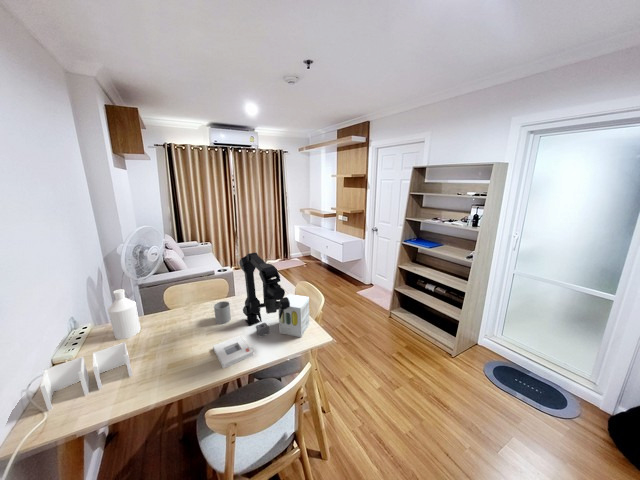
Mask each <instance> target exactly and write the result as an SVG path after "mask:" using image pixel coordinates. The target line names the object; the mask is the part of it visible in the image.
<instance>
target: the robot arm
mask: <svg viewBox="0 0 640 480" xmlns="http://www.w3.org/2000/svg"><path fill="white" fill-rule="evenodd" d="M238 263H239V264H238V265H239V266H240V269H241V270H242V272H243V273H244V280H245V289H246V299H245V301H244V307H243V308H242V311H243V312H242V313H243V314H244V316H246V319H245V322H246V324H247V325H248V327H249V326H253V325H255V324H258V323H261V322H262V316H261V315H262V314H261V309H262V308H265V311H266V313H267V314H268V315H270V314H273V313H275V314H276V313H277V312H278V320H279V319H280V318H281V316H282V313H283V311H284V310H285V309H287V308H288V307H290V302H289V299H288V298H287V297H286V291H285V289H284V288H282V286H281V284H279V283H280V282H281V275H280V274H279V272H278V269H277V267H275V266H274V265H273V264H271V263H266V261H264V260H263V259H262V258H261V256H259V255H258V253H257V252H251V253H247V254H246V255H244V256H243V257H241V258H240V259H239V262H238ZM256 269H257V270H258V272H259V278H260V280H261V281H262V295H263V303H261V301H260V300H259V299H258V297H257V294H256V293H257V292H256V287H255V276H254V274H255V273H254V272H255V270H256ZM278 309H279V311H278Z"/></svg>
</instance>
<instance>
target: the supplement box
mask: <svg viewBox="0 0 640 480" xmlns="http://www.w3.org/2000/svg"><path fill="white" fill-rule="evenodd" d="M285 297H287V298H288V299H289V302H290V307H288V308H287V309H285V310H284V311H283V313H282V316H281V318H280V319H279V318H278V326H279V330H278V331H279V334H282V335H288V336H292V337H298V338H302V337H303V336H304V334H305V333H306V331H307V329H308V328H309V326H310V325H311V324H310V296H306V295H299V294H293V293H287V295H286V294H285ZM277 312H279V309H278V310H277ZM304 332H305V333H304Z"/></svg>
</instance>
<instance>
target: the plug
mask: <svg viewBox="0 0 640 480" xmlns="http://www.w3.org/2000/svg"><path fill="white" fill-rule="evenodd" d="M255 327H256V329H255V330H256V334H257V335H258V337H259V338H261V337H264V336H266V335H269V334H270V327H269V325H268V324H267V322H263V323H260V324H257V325H255Z"/></svg>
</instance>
